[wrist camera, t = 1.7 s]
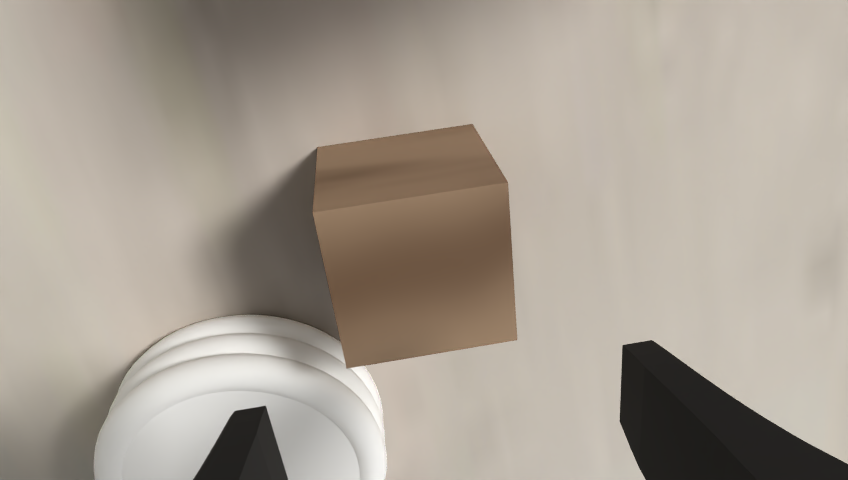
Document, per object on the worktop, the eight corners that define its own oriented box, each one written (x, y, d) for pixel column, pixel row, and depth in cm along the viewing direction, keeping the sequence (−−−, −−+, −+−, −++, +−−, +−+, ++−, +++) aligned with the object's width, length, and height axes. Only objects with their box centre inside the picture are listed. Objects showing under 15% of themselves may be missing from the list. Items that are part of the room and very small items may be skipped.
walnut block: (482, 257, 23) (517, 340, 19) (344, 279, 23) (346, 368, 19) (472, 123, 21) (507, 182, 17) (317, 146, 21) (312, 212, 16)
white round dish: (355, 284, 23) (357, 342, 20) (401, 477, 28) (408, 549, 25) (76, 337, 23) (36, 405, 20) (170, 524, 28) (149, 602, 25)
